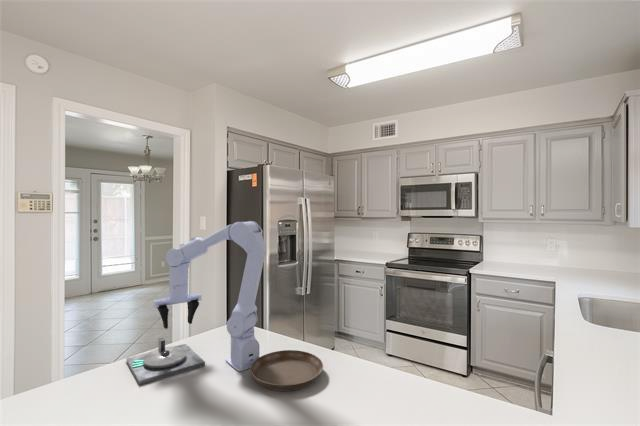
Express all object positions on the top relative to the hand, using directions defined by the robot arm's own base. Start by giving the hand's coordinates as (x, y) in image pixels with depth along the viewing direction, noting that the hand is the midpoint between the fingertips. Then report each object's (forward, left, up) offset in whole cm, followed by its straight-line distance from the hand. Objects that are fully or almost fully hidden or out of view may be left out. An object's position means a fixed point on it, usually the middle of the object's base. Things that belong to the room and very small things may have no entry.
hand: (177, 325), depth 110 cm
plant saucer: (-35, -20, -10) cm, 41 cm away
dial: (-5, +5, -8) cm, 11 cm away
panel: (-5, +5, -10) cm, 12 cm away
